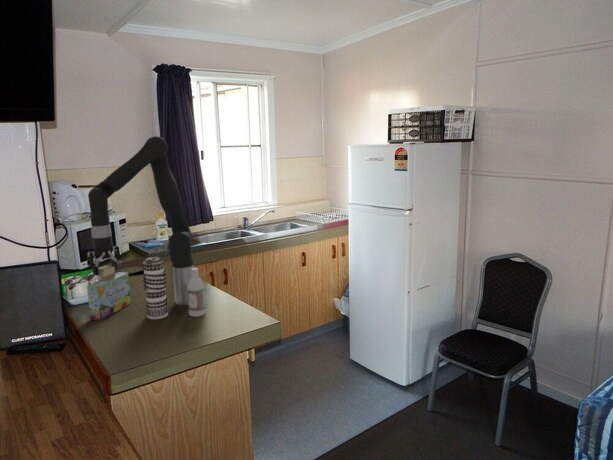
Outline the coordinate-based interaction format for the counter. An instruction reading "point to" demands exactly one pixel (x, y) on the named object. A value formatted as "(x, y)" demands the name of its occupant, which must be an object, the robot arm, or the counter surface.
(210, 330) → the counter surface
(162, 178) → the robot arm
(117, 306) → the snack box
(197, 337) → the counter surface
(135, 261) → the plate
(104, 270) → the maple block
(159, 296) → the decorative candle
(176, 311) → the counter surface
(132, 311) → the counter surface
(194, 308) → the bath foam
